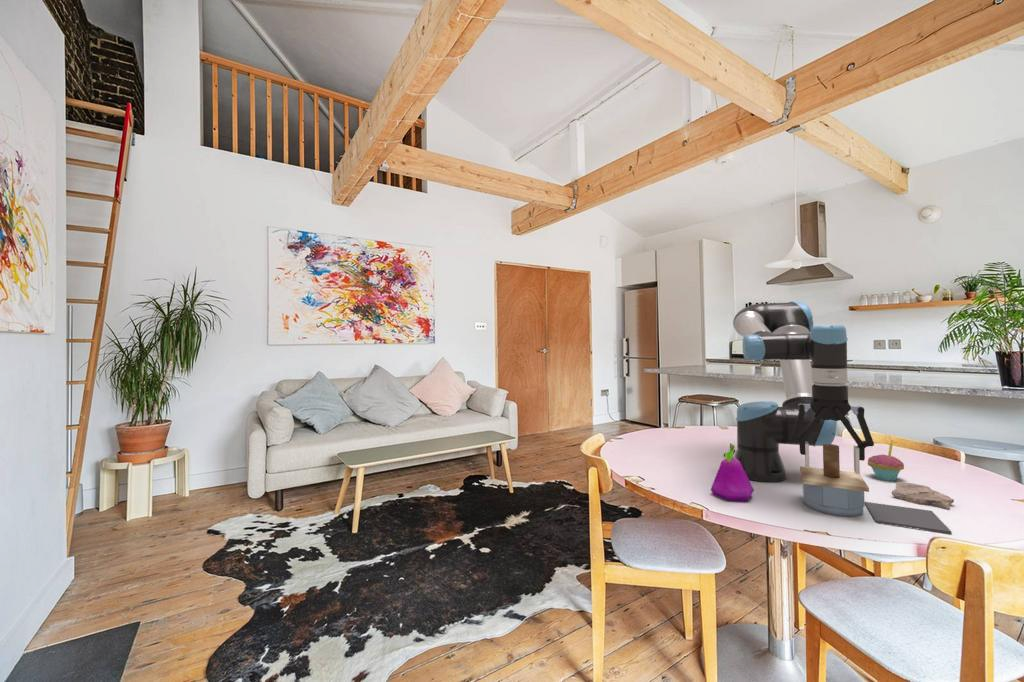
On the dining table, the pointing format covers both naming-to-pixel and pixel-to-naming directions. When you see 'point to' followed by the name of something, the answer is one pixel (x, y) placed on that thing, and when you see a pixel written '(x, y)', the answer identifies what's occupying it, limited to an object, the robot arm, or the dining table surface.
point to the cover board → (833, 482)
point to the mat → (906, 517)
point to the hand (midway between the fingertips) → (831, 469)
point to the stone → (921, 495)
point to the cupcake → (886, 465)
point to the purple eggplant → (732, 479)
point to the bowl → (834, 500)
